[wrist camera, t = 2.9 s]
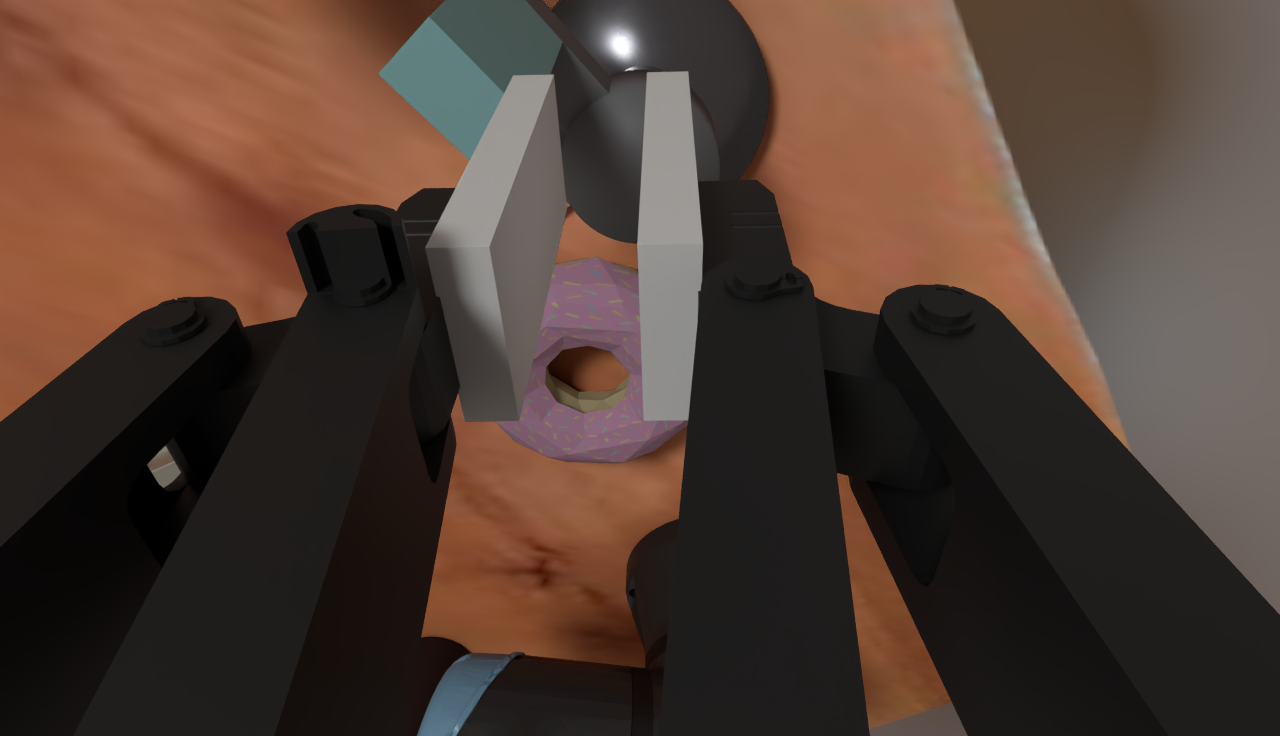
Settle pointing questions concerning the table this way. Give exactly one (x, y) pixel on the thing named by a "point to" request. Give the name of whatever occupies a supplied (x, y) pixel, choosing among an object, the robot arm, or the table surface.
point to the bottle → (429, 677)
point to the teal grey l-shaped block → (585, 94)
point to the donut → (600, 420)
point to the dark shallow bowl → (683, 60)
